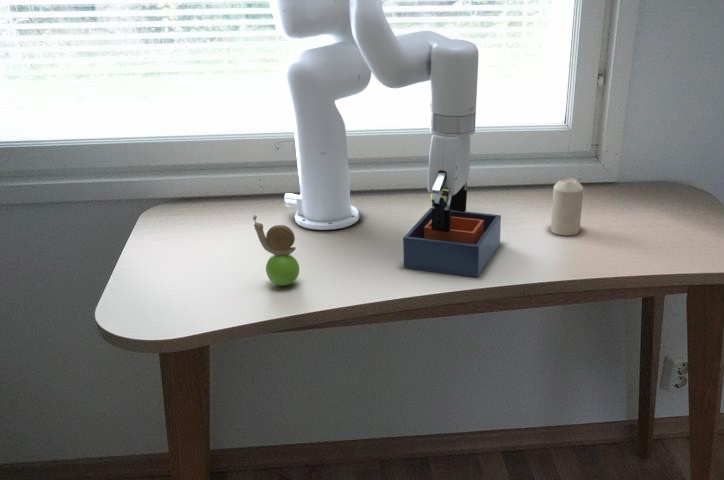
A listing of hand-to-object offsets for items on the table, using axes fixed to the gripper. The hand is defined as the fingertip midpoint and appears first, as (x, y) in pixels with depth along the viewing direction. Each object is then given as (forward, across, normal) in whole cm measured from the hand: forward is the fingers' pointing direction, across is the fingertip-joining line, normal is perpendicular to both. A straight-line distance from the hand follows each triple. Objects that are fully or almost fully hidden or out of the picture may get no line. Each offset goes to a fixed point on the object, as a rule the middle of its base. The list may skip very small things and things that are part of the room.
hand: (449, 220), depth 146 cm
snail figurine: (+7, +20, -23) cm, 32 cm away
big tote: (+6, 0, +1) cm, 7 cm away
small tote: (+6, 0, +1) cm, 6 cm away
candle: (+6, -18, +18) cm, 26 cm away
